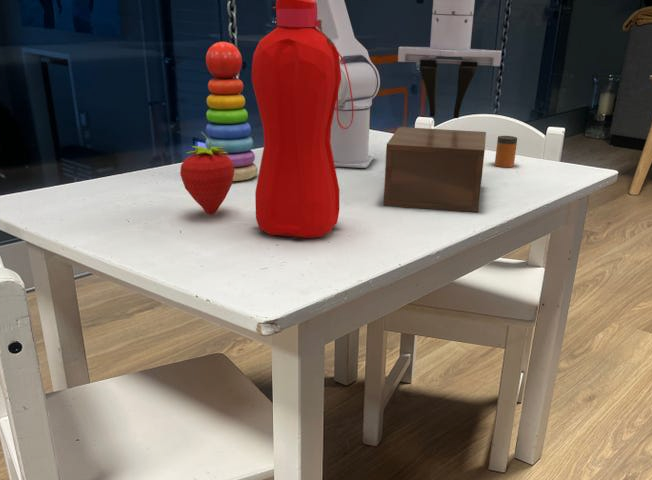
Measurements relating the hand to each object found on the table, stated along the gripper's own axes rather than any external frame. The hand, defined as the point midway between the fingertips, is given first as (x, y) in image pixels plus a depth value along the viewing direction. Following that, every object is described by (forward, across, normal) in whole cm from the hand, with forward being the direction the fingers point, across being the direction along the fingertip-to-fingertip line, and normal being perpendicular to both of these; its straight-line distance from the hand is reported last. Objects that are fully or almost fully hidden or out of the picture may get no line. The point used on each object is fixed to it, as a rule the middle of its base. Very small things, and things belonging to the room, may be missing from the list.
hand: (444, 116), depth 107 cm
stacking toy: (+10, -31, -7) cm, 33 cm away
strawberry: (+10, -27, -27) cm, 40 cm away
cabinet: (+9, 0, -10) cm, 14 cm away
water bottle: (+10, -14, -30) cm, 35 cm away
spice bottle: (+9, +10, +14) cm, 19 cm away
